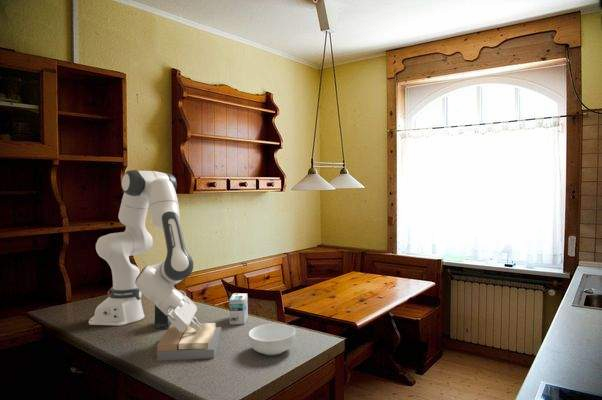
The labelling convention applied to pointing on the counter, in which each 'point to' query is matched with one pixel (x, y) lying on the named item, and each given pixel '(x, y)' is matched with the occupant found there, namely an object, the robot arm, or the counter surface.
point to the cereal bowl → (272, 338)
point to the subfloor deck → (171, 351)
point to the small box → (161, 319)
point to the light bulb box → (238, 308)
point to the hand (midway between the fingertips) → (199, 328)
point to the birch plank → (198, 337)
